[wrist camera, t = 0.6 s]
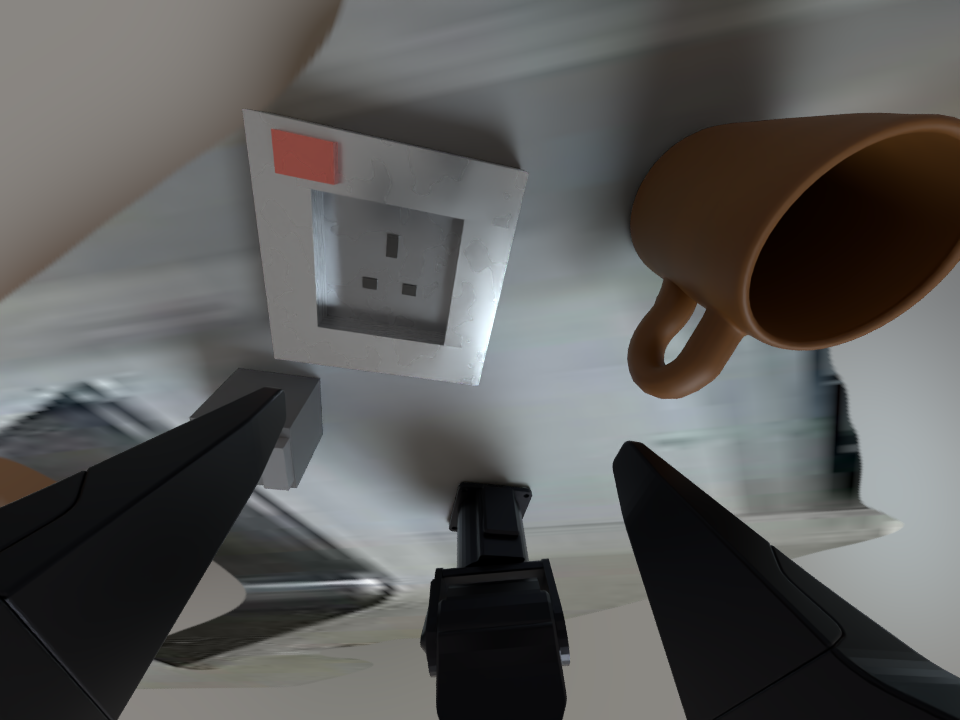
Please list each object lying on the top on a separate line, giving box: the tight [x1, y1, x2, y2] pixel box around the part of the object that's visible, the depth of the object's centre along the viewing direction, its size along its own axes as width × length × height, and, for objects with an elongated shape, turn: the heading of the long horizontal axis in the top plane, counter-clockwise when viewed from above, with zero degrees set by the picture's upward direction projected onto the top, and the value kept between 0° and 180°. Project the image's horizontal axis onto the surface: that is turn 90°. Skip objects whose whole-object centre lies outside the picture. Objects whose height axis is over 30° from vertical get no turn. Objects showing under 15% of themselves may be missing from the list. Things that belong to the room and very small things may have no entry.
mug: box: [627, 113, 960, 399], centre depth 16 cm, size 12×8×9 cm, turn 147°
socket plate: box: [242, 109, 529, 386], centre depth 19 cm, size 12×12×3 cm
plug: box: [190, 368, 323, 490], centre depth 23 cm, size 5×5×6 cm
